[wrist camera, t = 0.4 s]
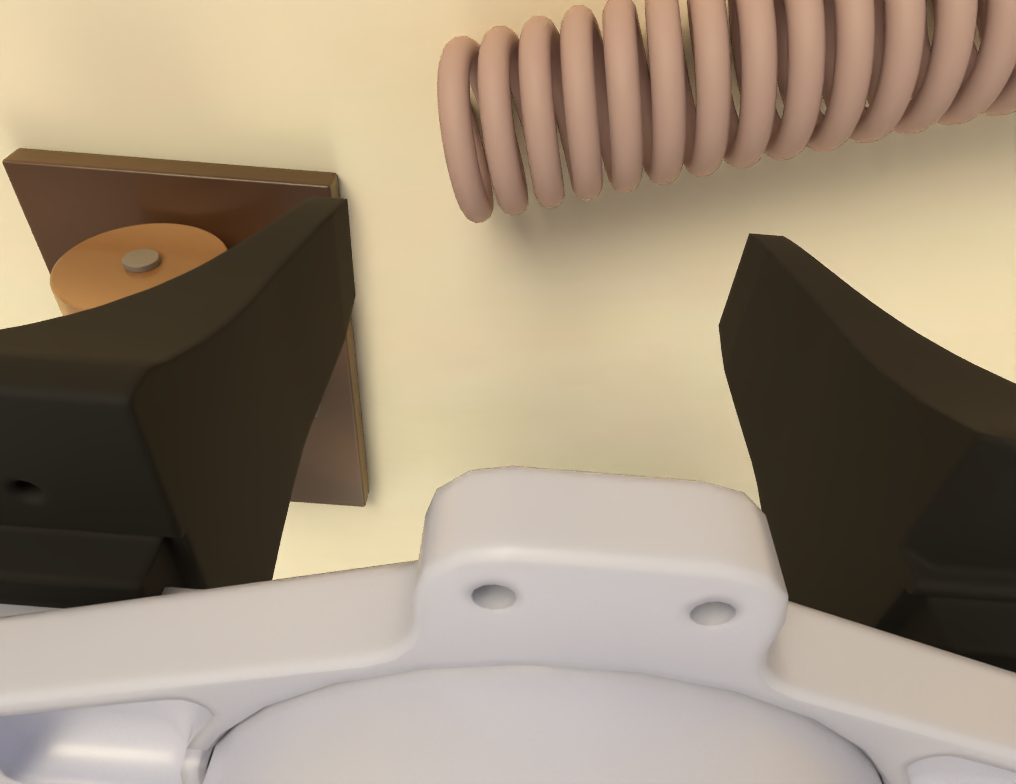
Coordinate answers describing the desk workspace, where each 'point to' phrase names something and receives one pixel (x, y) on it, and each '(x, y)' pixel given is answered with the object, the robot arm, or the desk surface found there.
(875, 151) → the desk surface
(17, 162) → the base board
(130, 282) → the battery
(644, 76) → the pink hollow tube
